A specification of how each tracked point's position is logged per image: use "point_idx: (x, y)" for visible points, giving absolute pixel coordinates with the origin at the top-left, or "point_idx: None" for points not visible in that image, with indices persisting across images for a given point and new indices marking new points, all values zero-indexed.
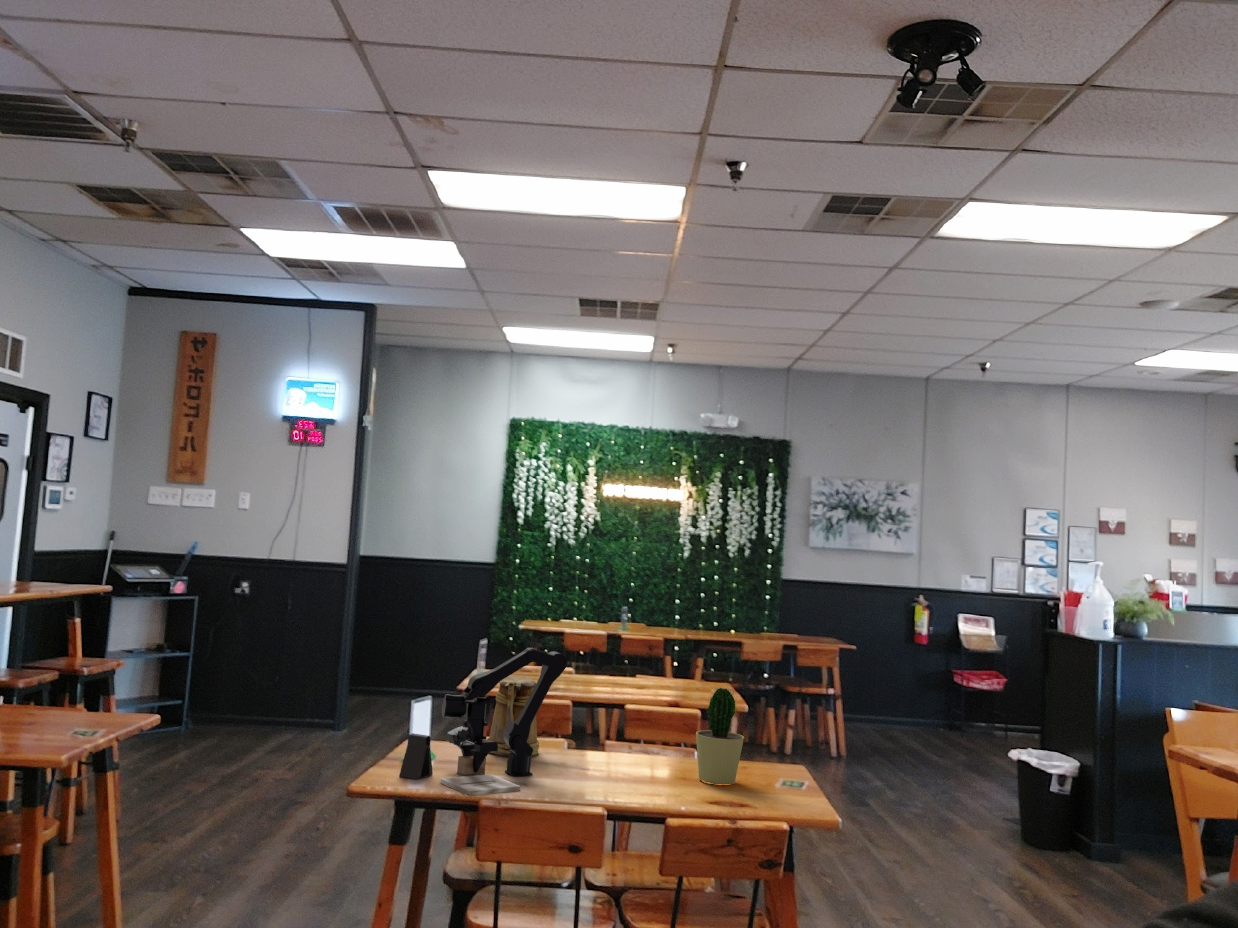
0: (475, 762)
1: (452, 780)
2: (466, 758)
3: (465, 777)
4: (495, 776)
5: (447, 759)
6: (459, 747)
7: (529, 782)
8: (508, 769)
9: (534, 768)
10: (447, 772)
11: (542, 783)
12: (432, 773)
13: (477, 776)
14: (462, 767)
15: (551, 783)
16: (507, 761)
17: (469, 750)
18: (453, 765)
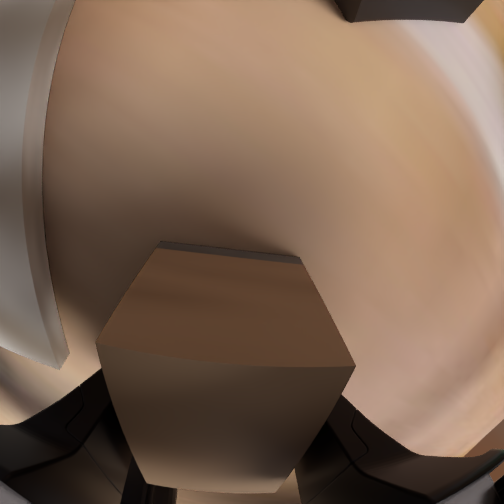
0: (84, 384)
1: (3, 14)
2: (155, 380)
3: (3, 140)
4: (11, 346)
5: (491, 364)
6: (439, 467)
7: (11, 400)
8: (132, 462)
9: (203, 501)
10: (360, 195)
11: (7, 411)
12: (352, 19)
13: (6, 251)
14: (205, 279)
15: (12, 424)
16: (141, 494)
17: (325, 499)
18: (443, 348)
